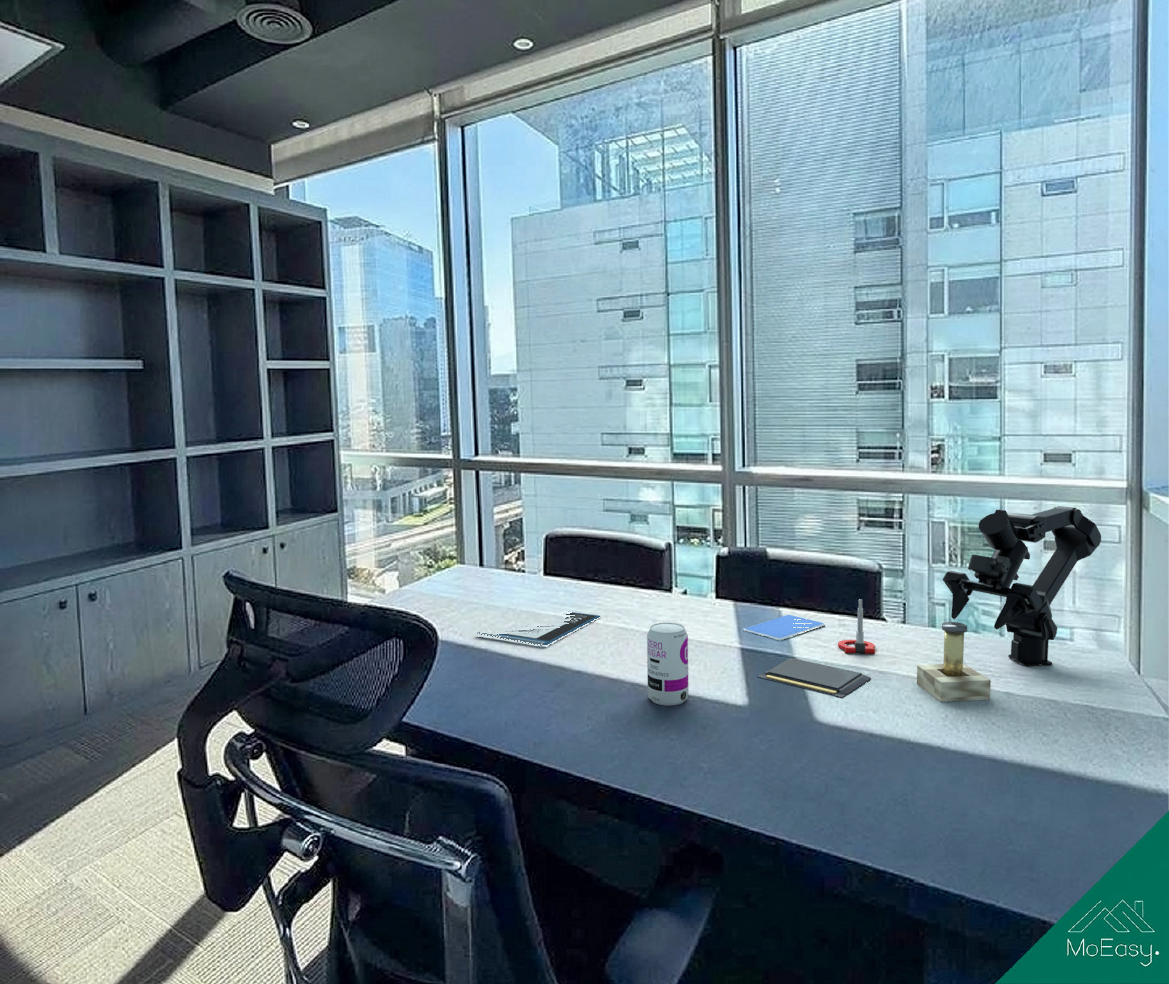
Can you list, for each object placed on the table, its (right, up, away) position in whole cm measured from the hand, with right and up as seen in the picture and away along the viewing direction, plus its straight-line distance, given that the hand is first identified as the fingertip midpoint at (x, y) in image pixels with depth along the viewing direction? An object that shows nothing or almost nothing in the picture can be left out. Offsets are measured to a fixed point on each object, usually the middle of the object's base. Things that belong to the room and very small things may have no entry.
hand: (973, 623), depth 162 cm
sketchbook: (-93, -10, +50) cm, 106 cm away
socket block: (-5, -14, -2) cm, 15 cm away
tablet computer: (-28, -9, +43) cm, 53 cm away
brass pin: (-5, -13, -2) cm, 14 cm away
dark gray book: (-31, -14, +8) cm, 35 cm away
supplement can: (-63, -15, -2) cm, 65 cm away
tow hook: (-15, -11, +26) cm, 32 cm away
